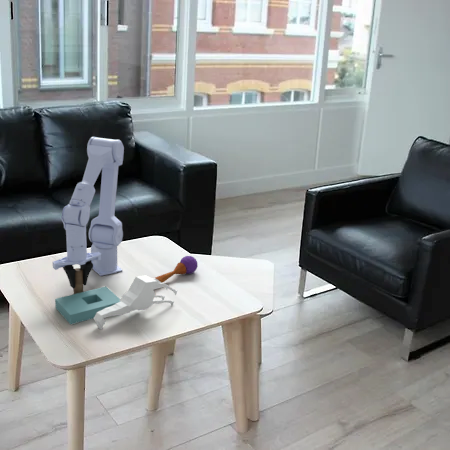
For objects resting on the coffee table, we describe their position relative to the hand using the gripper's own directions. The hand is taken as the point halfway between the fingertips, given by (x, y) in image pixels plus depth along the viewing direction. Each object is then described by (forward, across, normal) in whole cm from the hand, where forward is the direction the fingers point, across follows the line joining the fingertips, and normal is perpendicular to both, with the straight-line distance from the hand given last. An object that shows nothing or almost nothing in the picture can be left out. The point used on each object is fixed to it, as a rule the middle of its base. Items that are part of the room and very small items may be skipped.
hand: (78, 285), depth 192 cm
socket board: (+3, -1, -10) cm, 11 cm away
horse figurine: (+3, +9, -20) cm, 22 cm away
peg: (+3, 0, 0) cm, 3 cm away
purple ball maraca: (+4, +31, -5) cm, 31 cm away
